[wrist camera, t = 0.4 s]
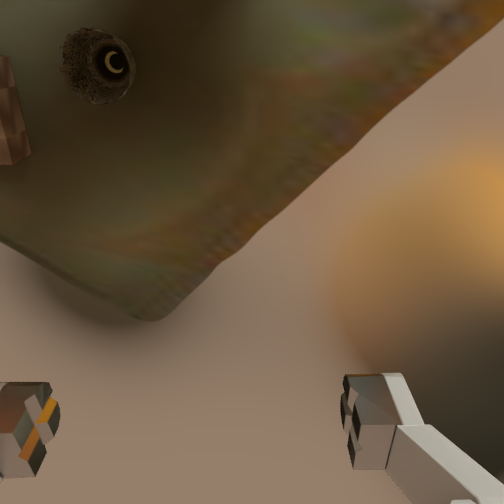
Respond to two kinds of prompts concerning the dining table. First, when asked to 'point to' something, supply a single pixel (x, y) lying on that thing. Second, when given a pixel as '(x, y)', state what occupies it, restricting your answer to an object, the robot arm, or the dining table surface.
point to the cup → (97, 65)
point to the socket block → (11, 119)
